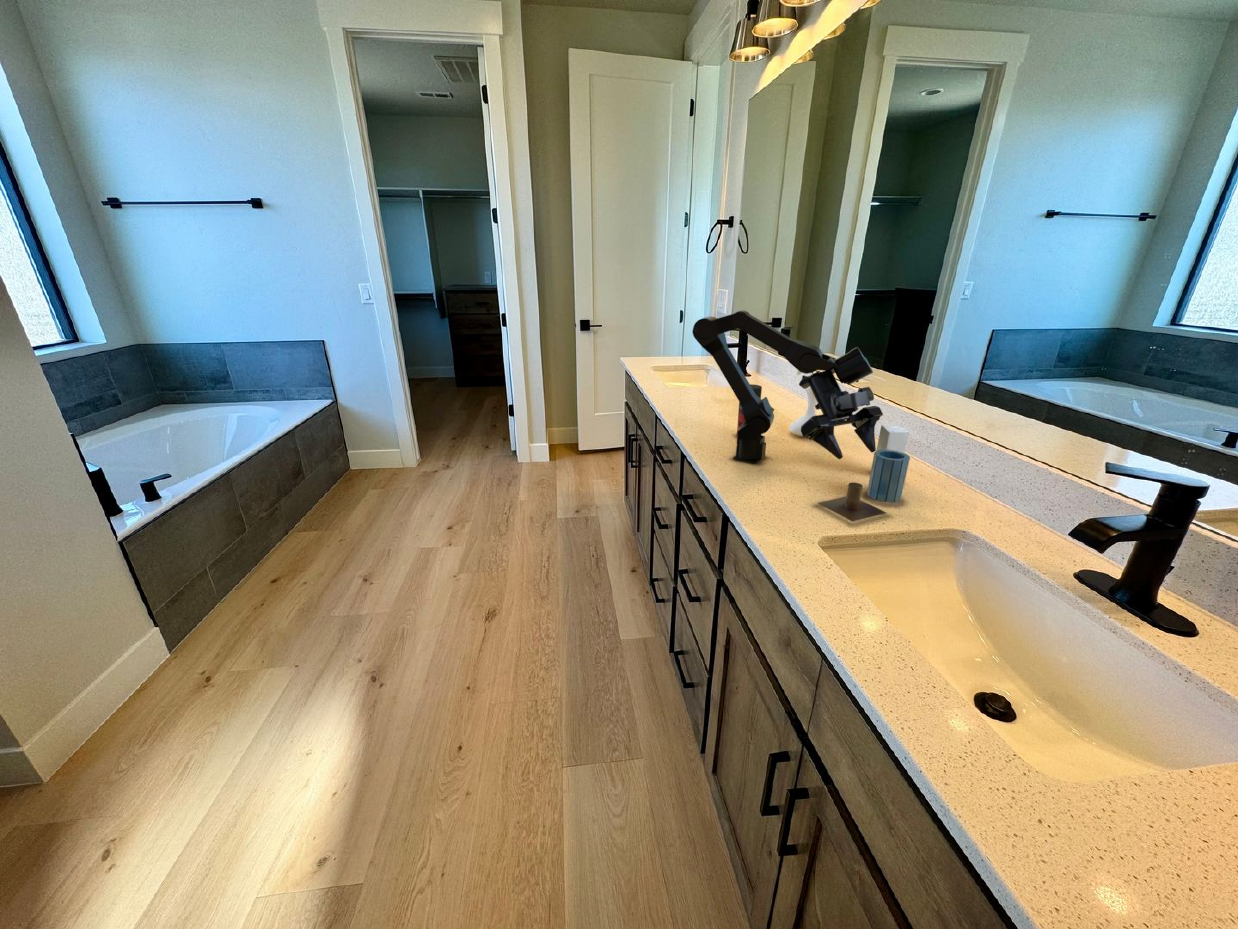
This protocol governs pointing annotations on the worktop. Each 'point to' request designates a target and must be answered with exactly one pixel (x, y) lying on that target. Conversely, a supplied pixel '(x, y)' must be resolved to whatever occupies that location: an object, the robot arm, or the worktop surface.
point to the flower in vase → (797, 424)
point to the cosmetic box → (892, 438)
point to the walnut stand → (852, 505)
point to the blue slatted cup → (888, 475)
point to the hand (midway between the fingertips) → (857, 455)
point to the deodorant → (741, 420)
